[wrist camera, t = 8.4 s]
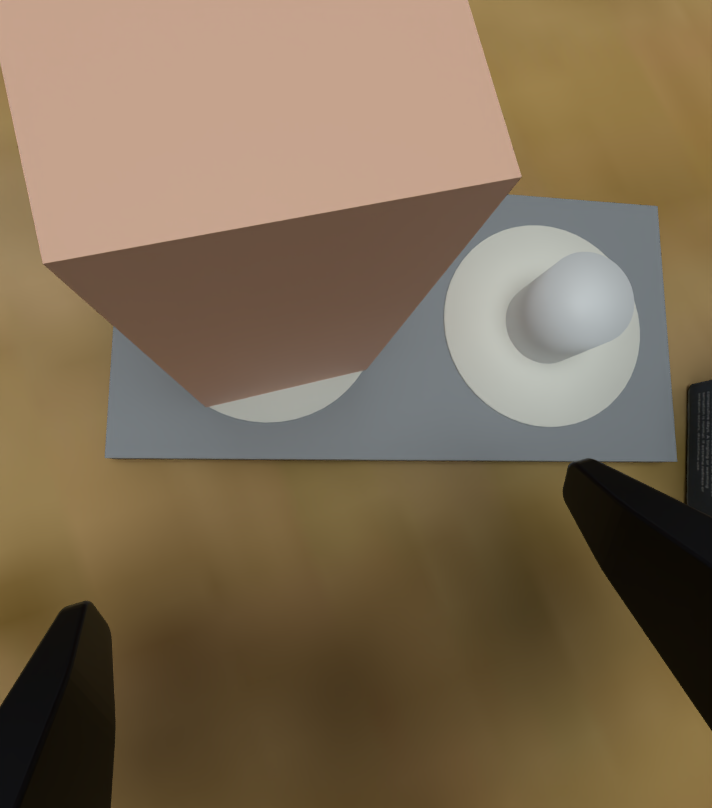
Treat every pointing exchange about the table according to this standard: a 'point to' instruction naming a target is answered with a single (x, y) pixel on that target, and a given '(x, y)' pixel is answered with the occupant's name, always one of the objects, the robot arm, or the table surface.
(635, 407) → the plate
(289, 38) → the pink block
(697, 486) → the box
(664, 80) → the table surface
